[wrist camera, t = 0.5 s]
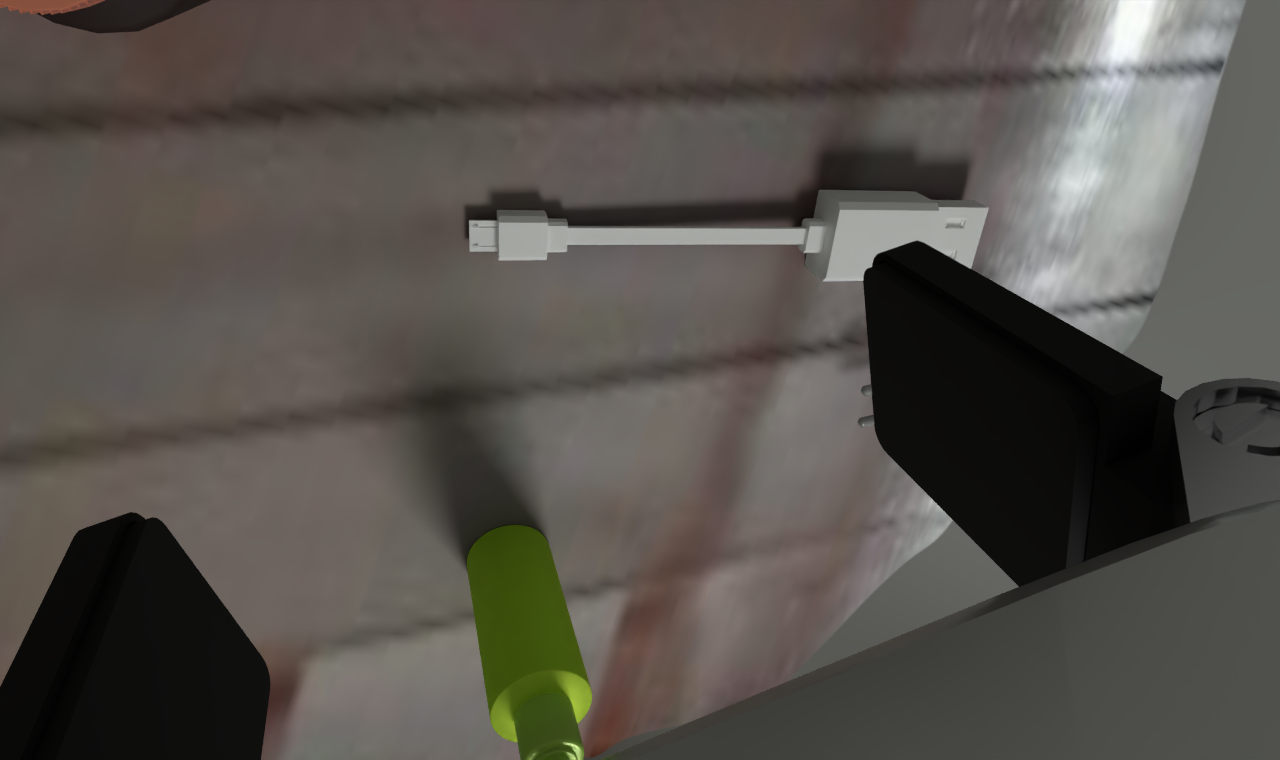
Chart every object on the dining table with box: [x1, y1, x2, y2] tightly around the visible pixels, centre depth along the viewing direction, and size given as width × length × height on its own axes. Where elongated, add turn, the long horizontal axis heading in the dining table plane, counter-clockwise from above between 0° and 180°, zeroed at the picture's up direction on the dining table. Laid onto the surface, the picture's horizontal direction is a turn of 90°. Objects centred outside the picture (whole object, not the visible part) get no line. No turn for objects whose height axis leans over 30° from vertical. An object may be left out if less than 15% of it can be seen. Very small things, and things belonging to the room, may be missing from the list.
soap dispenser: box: [467, 525, 592, 760], centre depth 48 cm, size 6×7×20 cm
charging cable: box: [469, 190, 989, 281], centre depth 49 cm, size 5×32×3 cm, turn 85°
